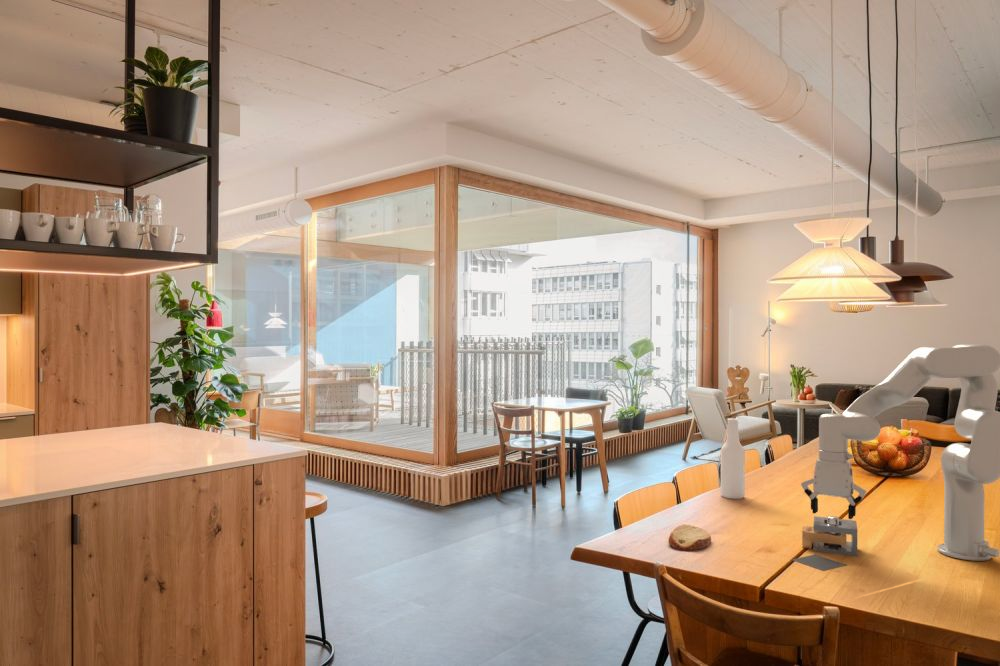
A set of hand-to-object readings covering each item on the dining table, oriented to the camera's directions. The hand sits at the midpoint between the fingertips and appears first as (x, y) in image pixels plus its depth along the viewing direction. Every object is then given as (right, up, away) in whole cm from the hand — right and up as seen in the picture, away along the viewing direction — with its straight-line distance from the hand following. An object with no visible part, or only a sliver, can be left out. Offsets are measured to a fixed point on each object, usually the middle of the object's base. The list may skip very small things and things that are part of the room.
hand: (832, 515), depth 199 cm
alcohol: (-7, -10, +64) cm, 65 cm away
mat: (-9, -10, -12) cm, 18 cm away
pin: (0, -10, 0) cm, 10 cm away
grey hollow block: (0, -10, 0) cm, 10 cm away
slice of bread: (-40, -10, +9) cm, 42 cm away
